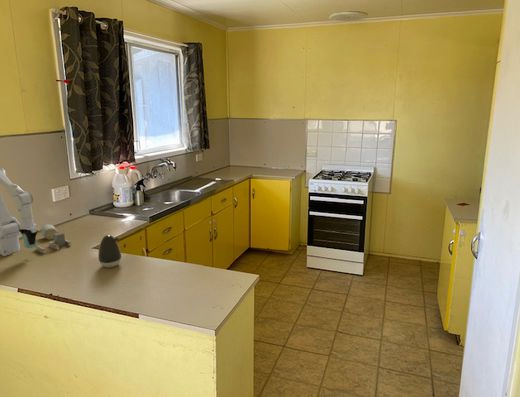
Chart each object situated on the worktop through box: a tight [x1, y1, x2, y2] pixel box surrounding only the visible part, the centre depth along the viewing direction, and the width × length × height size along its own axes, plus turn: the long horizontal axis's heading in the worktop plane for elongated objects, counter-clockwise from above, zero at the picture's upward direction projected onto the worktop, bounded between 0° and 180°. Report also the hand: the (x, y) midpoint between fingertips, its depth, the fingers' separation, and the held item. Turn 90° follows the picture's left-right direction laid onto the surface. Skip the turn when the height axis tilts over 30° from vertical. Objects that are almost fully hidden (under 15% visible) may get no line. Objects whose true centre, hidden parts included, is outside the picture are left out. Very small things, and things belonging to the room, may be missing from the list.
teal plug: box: [22, 233, 38, 249], centre depth 193 cm, size 4×4×7 cm
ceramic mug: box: [40, 223, 60, 241], centre depth 222 cm, size 11×8×8 cm
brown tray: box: [35, 238, 72, 255], centre depth 206 cm, size 14×9×3 cm, turn 142°
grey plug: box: [53, 231, 66, 248], centre depth 207 cm, size 4×4×7 cm
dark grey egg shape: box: [98, 234, 122, 268], centre depth 184 cm, size 10×10×15 cm
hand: (30, 243), depth 193 cm, fingers closed on teal plug, 4 cm apart
